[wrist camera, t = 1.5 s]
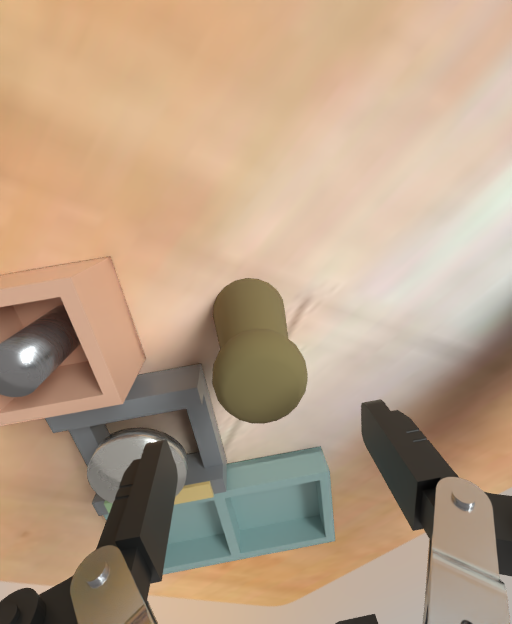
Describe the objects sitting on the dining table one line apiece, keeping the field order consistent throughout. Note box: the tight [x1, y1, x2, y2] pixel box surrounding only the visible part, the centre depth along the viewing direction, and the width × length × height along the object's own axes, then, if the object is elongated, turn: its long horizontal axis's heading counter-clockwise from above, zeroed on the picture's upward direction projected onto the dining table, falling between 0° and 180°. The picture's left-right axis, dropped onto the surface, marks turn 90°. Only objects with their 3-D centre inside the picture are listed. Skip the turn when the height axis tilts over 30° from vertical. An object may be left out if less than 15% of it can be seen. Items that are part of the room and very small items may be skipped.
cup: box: [0, 256, 146, 426], centre depth 21 cm, size 9×9×6 cm
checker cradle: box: [45, 364, 227, 516], centre depth 27 cm, size 12×12×4 cm
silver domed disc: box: [87, 428, 188, 504], centre depth 25 cm, size 8×8×4 cm
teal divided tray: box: [104, 446, 335, 574], centre depth 32 cm, size 22×11×3 cm, turn 99°
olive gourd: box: [212, 278, 307, 423], centre depth 20 cm, size 6×6×11 cm
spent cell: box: [0, 305, 81, 397], centre depth 20 cm, size 3×3×7 cm
